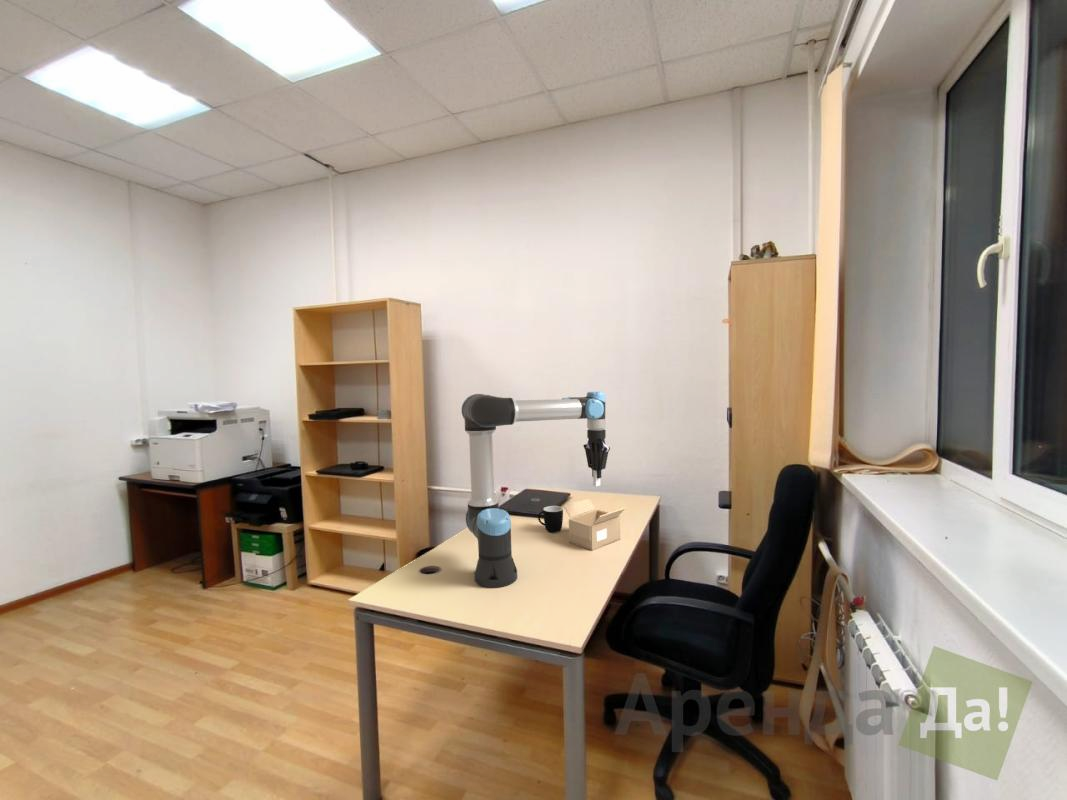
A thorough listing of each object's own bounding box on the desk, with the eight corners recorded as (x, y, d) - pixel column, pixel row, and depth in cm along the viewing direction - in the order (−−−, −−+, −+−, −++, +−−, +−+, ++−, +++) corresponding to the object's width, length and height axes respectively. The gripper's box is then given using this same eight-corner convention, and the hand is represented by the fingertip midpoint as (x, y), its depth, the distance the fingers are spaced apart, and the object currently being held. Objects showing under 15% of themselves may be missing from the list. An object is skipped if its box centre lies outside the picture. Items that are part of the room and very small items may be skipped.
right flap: (592, 523, 186) (593, 524, 186) (599, 516, 183) (600, 516, 183) (618, 514, 197) (618, 515, 196) (625, 507, 193) (625, 508, 193)
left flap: (564, 505, 199) (563, 506, 199) (570, 517, 196) (570, 517, 196) (589, 498, 209) (589, 498, 209) (595, 508, 206) (595, 509, 206)
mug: (566, 528, 214) (565, 506, 213) (559, 535, 206) (558, 512, 205) (542, 525, 219) (541, 504, 218) (534, 531, 211) (533, 509, 210)
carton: (591, 551, 186) (590, 526, 185) (568, 542, 196) (567, 519, 195) (621, 539, 198) (620, 515, 197) (598, 531, 208) (597, 509, 207)
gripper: (614, 429, 189) (614, 486, 191) (590, 427, 199) (591, 481, 201) (602, 431, 185) (602, 489, 186) (578, 428, 195) (579, 484, 196)
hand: (596, 485), depth 193 cm, fingers closed
